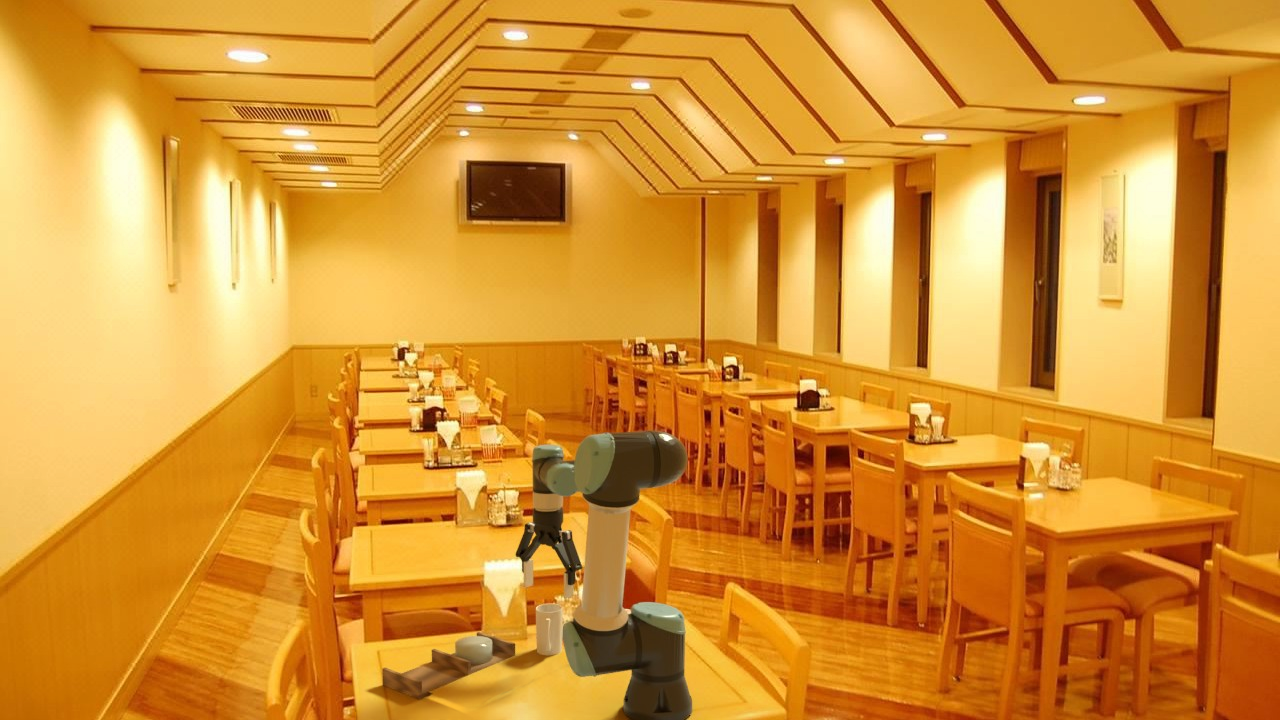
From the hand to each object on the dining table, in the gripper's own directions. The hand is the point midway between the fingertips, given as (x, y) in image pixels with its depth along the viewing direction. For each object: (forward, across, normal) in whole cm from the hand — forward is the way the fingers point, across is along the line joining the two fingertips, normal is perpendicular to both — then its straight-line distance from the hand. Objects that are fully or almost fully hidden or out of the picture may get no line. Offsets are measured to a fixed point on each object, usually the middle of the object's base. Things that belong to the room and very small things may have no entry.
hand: (548, 591), depth 252 cm
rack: (+17, +12, +22) cm, 30 cm away
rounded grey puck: (+16, +12, +14) cm, 24 cm away
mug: (+17, 0, 0) cm, 17 cm away
